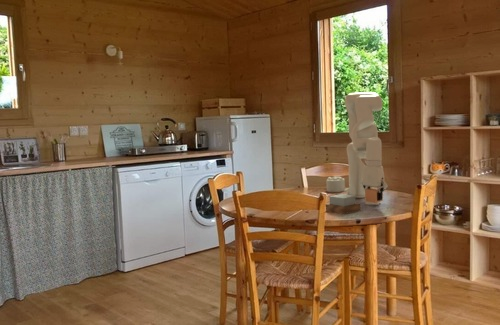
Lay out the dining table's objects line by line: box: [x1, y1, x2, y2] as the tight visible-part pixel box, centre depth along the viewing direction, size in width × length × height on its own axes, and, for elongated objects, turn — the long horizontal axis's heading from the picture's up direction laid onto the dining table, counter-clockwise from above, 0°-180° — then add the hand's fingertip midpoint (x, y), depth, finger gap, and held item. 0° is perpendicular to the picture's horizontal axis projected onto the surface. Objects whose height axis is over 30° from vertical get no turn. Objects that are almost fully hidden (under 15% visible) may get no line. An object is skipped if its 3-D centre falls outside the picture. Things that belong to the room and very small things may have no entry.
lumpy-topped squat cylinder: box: [326, 176, 346, 193], centre depth 303 cm, size 10×13×9 cm
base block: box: [325, 202, 361, 215], centre depth 240 cm, size 12×12×4 cm
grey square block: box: [329, 193, 356, 206], centre depth 240 cm, size 9×9×4 cm
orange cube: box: [364, 188, 384, 203], centre depth 239 cm, size 6×6×6 cm
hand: (374, 198), depth 239 cm, fingers closed on orange cube, 6 cm apart
